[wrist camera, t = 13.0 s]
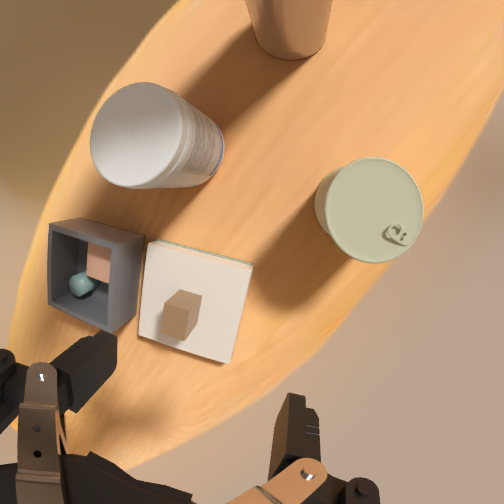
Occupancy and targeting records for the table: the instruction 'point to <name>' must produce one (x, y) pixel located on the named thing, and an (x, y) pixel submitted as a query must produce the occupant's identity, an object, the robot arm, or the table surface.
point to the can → (370, 209)
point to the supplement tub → (154, 140)
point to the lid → (193, 300)
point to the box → (94, 272)
